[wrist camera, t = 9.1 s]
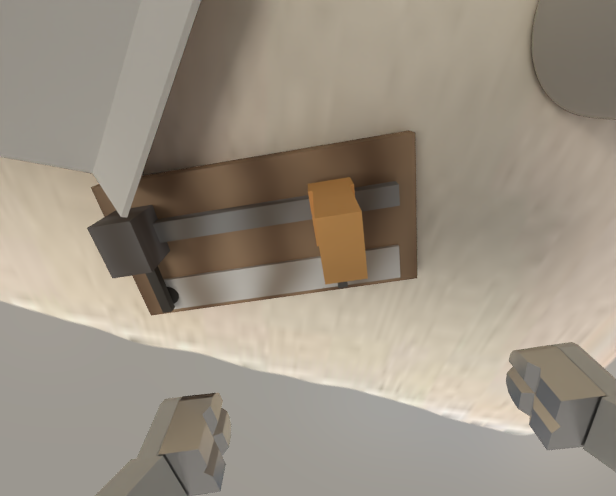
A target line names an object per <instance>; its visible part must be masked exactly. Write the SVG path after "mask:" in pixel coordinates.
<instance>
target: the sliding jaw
mask: <svg viewBox="0 0 616 496" xmlns="http://www.w3.org/2000/svg"><path fill="white" fill-rule="evenodd" d="M308 196H309V202H310V208H311V214H312V220H313V226H314V232H315V238H316V244H317V246H319V249H320V256H321V262H322V268H323V274H324V280H325V284H332V283H338V288H345V287H348V282H347V281H354V280H361V279H368V274H367V264H366V253H365V242H364V231H363V221H362V211H361V209H360V207H359V205H358V203H357V200H356V198H355V190H354V184H353V182H352V180H351V178H350V177H347V178H341V179H334V180H328V181H322V182H316V183H310V184H308Z"/></svg>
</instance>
